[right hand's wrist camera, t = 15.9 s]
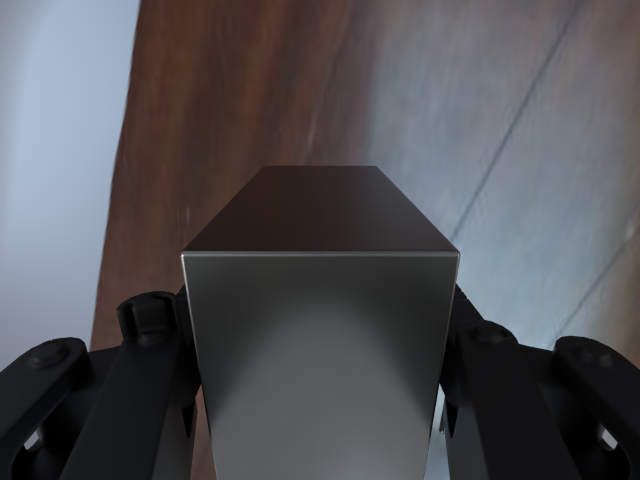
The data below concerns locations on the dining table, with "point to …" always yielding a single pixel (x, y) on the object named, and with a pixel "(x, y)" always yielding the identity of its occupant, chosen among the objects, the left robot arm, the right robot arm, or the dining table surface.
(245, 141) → the dining table surface
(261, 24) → the dining table surface
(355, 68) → the dining table surface
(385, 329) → the bar
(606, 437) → the left robot arm
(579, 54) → the dining table surface
